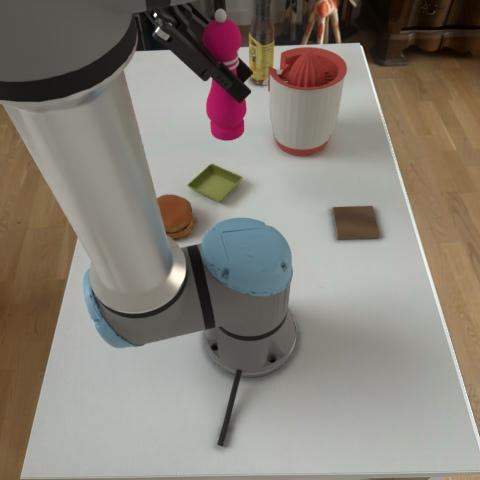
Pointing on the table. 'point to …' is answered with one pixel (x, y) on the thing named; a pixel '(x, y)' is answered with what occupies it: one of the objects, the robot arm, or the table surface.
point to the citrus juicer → (305, 98)
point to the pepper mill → (219, 101)
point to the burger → (176, 215)
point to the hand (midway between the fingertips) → (246, 87)
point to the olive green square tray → (215, 182)
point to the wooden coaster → (355, 222)
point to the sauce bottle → (261, 42)
